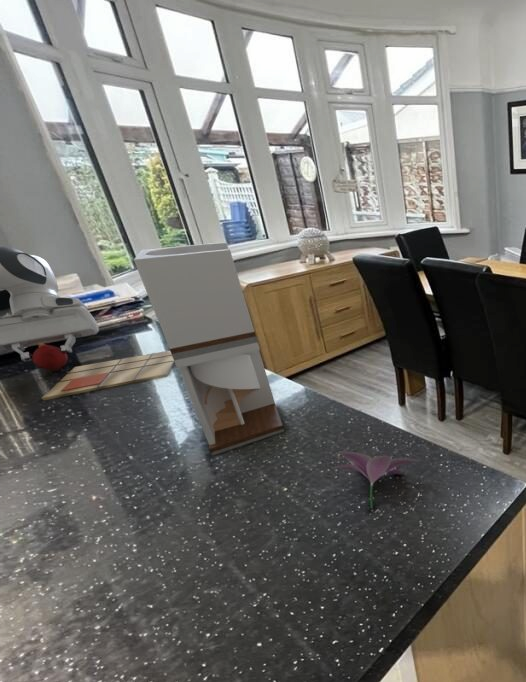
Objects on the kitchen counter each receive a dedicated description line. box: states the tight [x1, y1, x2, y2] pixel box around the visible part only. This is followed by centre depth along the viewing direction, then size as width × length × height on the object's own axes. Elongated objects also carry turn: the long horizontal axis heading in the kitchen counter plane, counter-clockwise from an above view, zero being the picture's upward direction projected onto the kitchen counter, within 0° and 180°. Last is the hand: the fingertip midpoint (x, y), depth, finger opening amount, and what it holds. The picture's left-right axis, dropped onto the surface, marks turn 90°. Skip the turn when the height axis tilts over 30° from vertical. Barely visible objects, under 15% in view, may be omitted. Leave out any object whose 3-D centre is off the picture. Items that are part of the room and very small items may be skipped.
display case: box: [133, 241, 285, 456], centre depth 69 cm, size 11×11×35 cm
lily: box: [331, 450, 422, 509], centre depth 59 cm, size 12×12×10 cm
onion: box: [31, 343, 69, 372], centre depth 101 cm, size 6×6×8 cm
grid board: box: [41, 350, 175, 401], centre depth 100 cm, size 22×18×2 cm
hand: (47, 356), depth 101 cm, fingers closed on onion, 5 cm apart
